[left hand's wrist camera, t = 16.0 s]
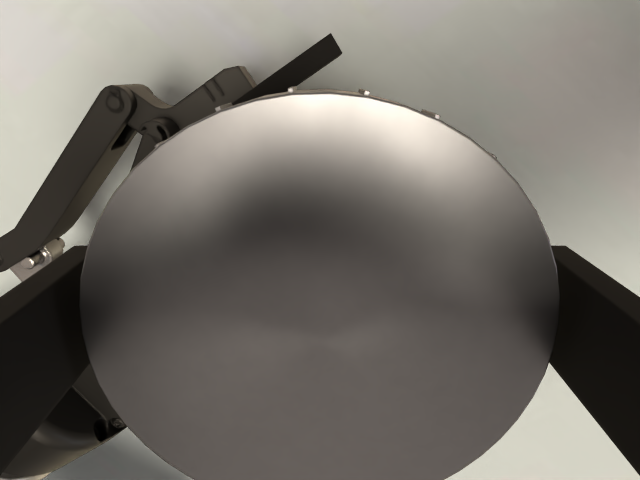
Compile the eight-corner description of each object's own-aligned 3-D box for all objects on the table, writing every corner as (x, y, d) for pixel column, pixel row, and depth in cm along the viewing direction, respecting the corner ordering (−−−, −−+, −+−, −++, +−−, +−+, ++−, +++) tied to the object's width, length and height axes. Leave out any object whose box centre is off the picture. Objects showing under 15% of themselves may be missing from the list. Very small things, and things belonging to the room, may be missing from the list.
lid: (112, 43, 10) (67, 35, 8) (593, 131, 10) (648, 142, 9) (111, 432, 14) (80, 484, 12) (460, 477, 14) (479, 533, 12)
